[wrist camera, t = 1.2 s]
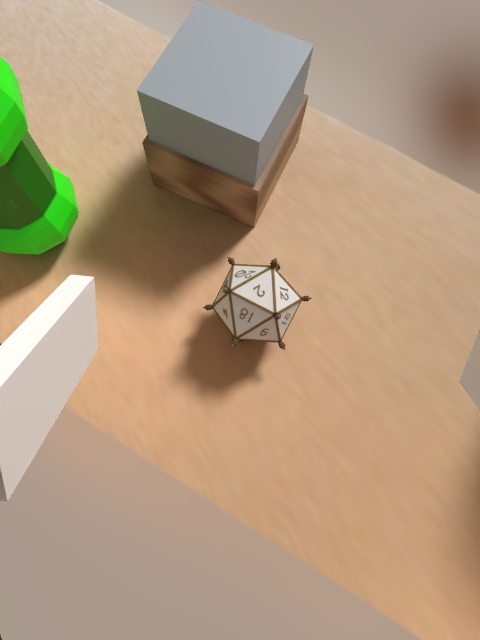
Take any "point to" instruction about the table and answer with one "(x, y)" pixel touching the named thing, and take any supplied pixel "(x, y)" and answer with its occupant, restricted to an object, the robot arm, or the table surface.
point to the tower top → (225, 91)
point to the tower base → (223, 176)
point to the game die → (256, 303)
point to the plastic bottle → (28, 182)
